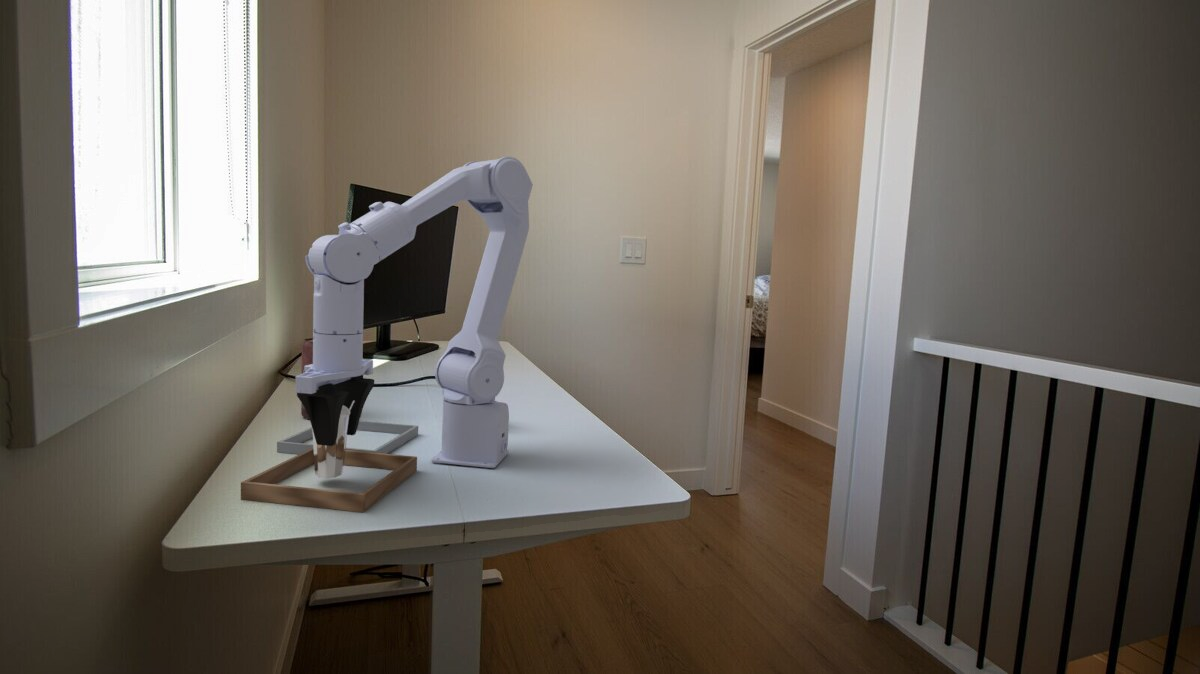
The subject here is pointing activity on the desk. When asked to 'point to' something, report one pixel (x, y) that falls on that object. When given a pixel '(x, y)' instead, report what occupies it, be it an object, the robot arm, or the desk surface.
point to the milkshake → (332, 450)
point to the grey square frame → (405, 431)
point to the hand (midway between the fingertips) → (336, 439)
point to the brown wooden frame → (268, 491)
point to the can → (306, 360)
